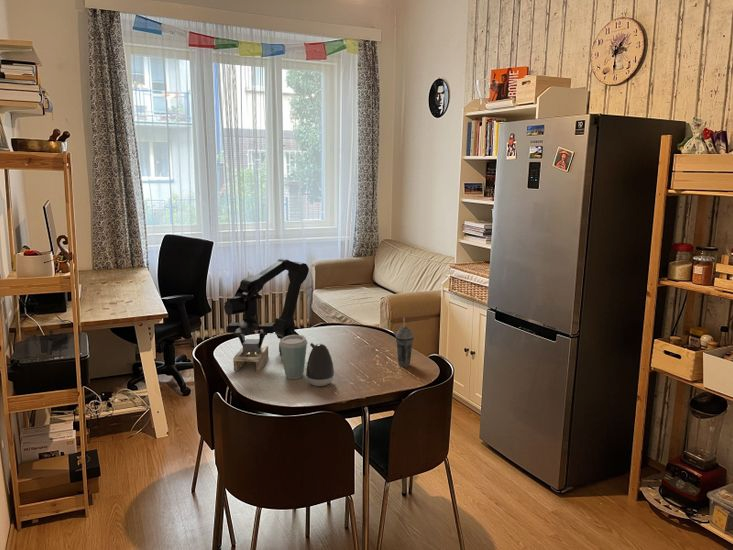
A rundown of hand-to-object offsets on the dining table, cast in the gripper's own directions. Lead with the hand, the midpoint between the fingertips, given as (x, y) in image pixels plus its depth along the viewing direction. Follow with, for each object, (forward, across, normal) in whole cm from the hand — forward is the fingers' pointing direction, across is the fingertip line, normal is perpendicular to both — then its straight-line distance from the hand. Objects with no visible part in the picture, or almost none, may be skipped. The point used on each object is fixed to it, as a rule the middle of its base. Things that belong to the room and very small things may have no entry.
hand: (252, 348), depth 231 cm
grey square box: (+4, 0, 0) cm, 4 cm away
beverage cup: (+7, +61, +2) cm, 61 cm away
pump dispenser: (+7, +30, -19) cm, 36 cm away
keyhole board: (+6, 0, -1) cm, 7 cm away
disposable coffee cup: (+7, +19, -12) cm, 23 cm away
